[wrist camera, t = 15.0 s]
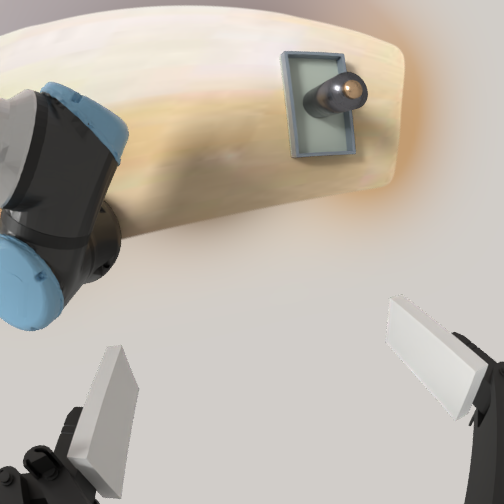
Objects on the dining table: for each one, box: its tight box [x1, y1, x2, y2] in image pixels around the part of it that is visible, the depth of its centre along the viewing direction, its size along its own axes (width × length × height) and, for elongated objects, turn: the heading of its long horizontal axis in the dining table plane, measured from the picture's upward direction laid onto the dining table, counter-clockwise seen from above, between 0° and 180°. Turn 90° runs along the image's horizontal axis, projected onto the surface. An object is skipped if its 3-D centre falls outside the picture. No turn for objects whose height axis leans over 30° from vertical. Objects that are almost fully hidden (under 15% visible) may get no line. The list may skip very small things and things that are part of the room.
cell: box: [303, 72, 368, 118], centre depth 39 cm, size 5×5×13 cm
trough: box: [280, 51, 356, 157], centre depth 44 cm, size 10×17×3 cm, turn 6°
